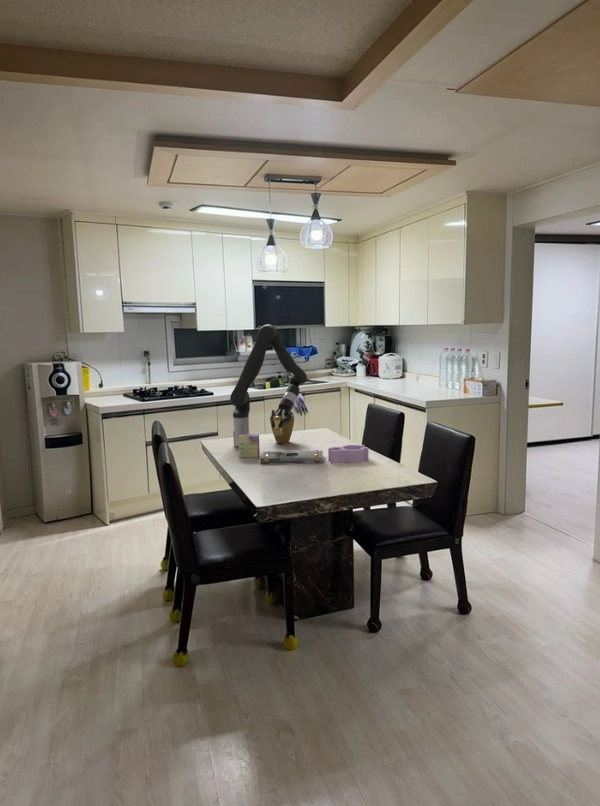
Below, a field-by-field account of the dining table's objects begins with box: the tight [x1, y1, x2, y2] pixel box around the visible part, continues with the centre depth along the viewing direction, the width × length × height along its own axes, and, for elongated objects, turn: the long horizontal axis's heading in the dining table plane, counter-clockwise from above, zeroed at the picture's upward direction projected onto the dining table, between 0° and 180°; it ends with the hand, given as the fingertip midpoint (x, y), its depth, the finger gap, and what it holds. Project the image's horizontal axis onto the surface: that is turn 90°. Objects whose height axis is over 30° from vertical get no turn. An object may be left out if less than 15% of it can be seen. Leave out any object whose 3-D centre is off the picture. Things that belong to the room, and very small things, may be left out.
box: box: [238, 433, 261, 458], centre depth 282 cm, size 10×6×12 cm, turn 84°
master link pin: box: [273, 416, 282, 435], centre depth 282 cm, size 5×5×10 cm
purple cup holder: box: [327, 444, 370, 464], centre depth 268 cm, size 20×12×7 cm, turn 102°
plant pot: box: [269, 415, 295, 444], centre depth 311 cm, size 15×15×16 cm
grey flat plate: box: [260, 449, 324, 465], centre depth 272 cm, size 32×15×3 cm, turn 88°
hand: (276, 426), depth 281 cm, fingers closed on master link pin, 4 cm apart
